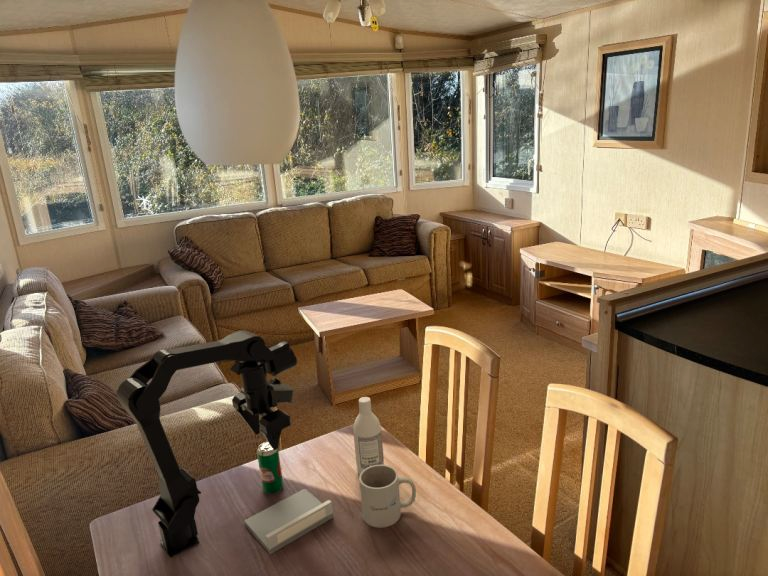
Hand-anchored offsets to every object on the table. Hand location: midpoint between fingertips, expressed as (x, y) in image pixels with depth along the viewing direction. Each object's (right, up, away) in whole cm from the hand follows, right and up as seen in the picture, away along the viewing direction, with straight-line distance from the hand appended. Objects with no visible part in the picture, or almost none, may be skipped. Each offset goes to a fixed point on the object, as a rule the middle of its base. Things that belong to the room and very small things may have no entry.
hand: (266, 441), depth 133 cm
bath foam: (+25, -10, +9) cm, 28 cm away
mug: (+30, -14, -7) cm, 34 cm away
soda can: (+1, -13, +4) cm, 14 cm away
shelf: (+7, -16, -8) cm, 19 cm away
